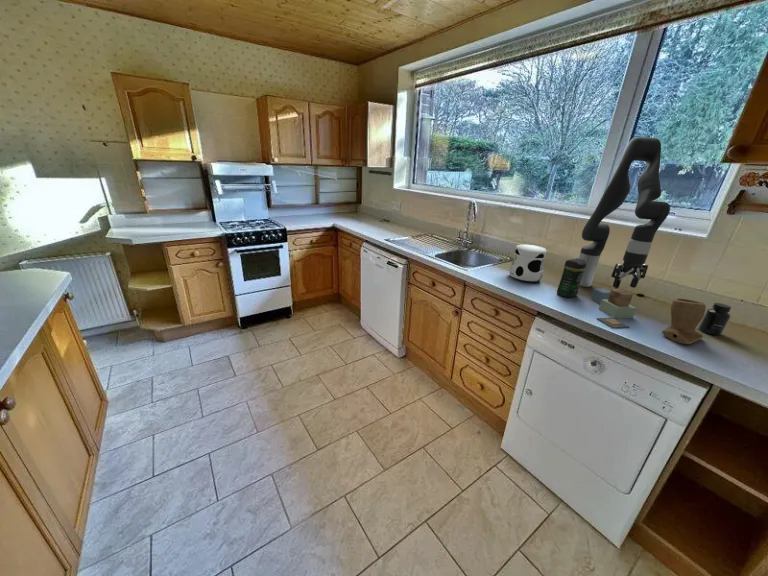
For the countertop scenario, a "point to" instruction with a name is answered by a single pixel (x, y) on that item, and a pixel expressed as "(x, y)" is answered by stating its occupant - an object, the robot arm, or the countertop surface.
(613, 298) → the walnut cube
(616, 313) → the sage base block
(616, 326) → the tile
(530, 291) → the countertop surface
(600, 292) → the blue-grey cube
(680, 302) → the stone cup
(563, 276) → the coffee jar
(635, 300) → the countertop surface
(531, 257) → the milk container
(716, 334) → the supplement bottle
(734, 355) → the countertop surface
